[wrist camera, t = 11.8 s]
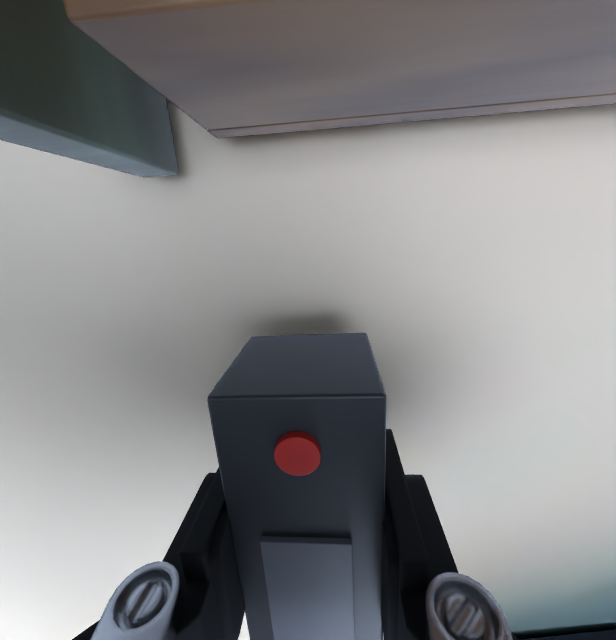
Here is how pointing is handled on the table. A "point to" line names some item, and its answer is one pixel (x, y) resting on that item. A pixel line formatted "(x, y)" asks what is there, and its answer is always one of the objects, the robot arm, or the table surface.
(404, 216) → the table surface
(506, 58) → the drawer
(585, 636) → the headset box
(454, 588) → the robot arm
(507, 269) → the table surface
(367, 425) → the remote
